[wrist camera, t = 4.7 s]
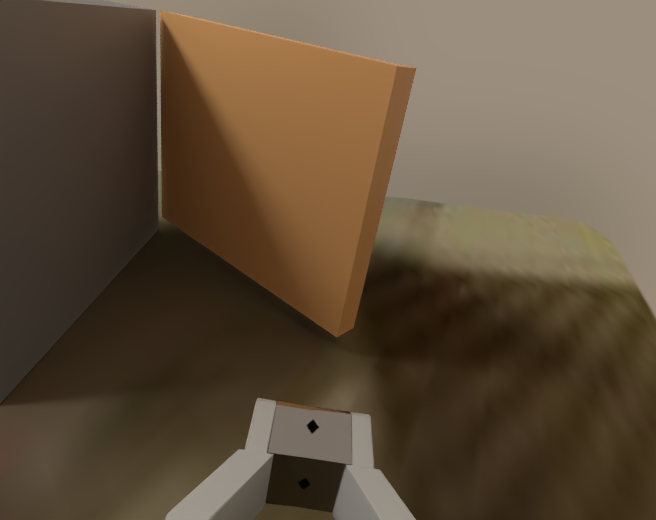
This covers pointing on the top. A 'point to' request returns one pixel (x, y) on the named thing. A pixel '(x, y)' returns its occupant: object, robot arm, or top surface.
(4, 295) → the block
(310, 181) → the side door
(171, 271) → the top surface
